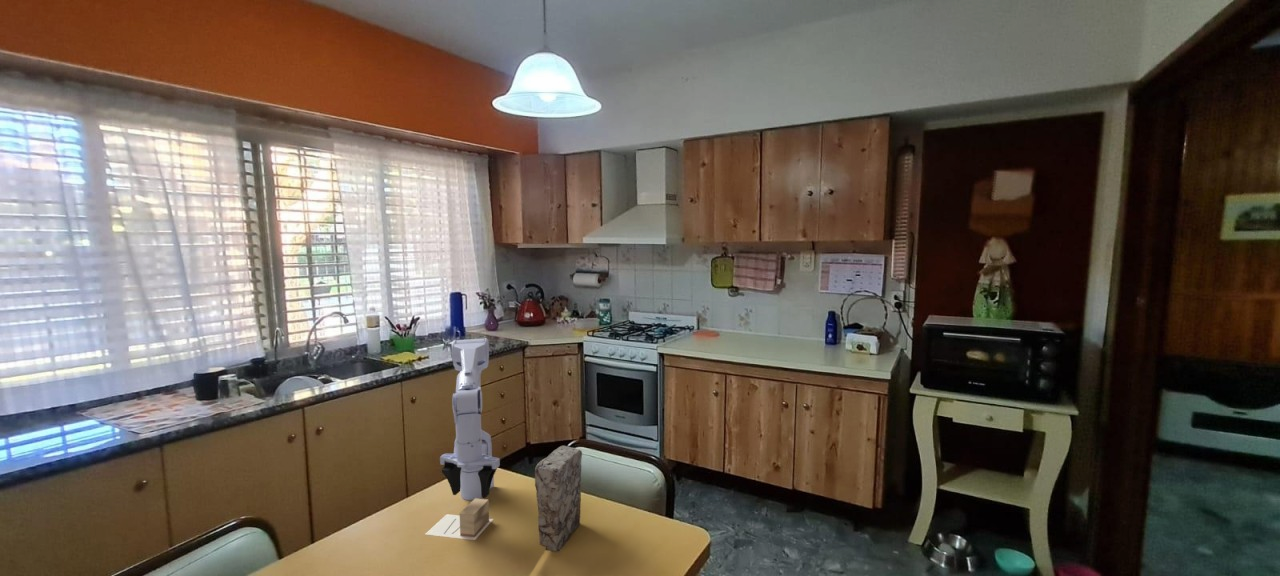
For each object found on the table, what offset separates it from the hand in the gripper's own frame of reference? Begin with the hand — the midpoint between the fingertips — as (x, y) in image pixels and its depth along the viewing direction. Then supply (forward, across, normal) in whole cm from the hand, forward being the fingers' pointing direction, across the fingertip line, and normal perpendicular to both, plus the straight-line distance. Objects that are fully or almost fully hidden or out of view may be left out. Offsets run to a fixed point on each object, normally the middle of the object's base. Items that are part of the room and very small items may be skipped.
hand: (470, 494), depth 115 cm
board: (+10, -4, 0) cm, 11 cm away
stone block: (+10, +21, +3) cm, 24 cm away
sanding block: (+9, 0, 0) cm, 9 cm away
